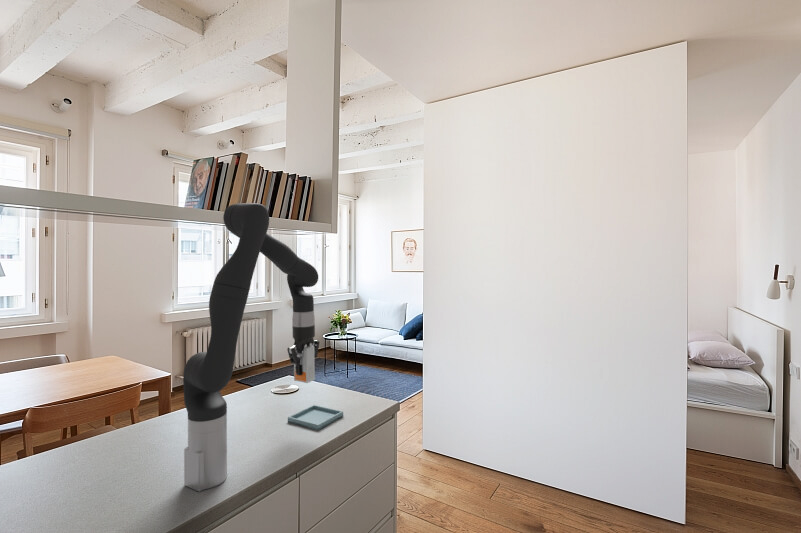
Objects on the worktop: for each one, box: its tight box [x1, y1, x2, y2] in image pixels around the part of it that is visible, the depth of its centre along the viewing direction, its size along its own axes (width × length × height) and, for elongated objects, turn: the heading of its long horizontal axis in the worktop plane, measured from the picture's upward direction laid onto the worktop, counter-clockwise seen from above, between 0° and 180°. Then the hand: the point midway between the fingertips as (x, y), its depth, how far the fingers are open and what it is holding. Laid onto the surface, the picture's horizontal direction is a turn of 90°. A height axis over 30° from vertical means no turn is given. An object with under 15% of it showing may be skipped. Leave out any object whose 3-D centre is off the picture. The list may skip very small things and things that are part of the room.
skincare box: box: [293, 346, 316, 384], centre depth 138 cm, size 6×4×12 cm
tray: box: [287, 404, 344, 431], centre depth 145 cm, size 14×14×2 cm
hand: (304, 372), depth 138 cm, fingers closed on skincare box, 4 cm apart
